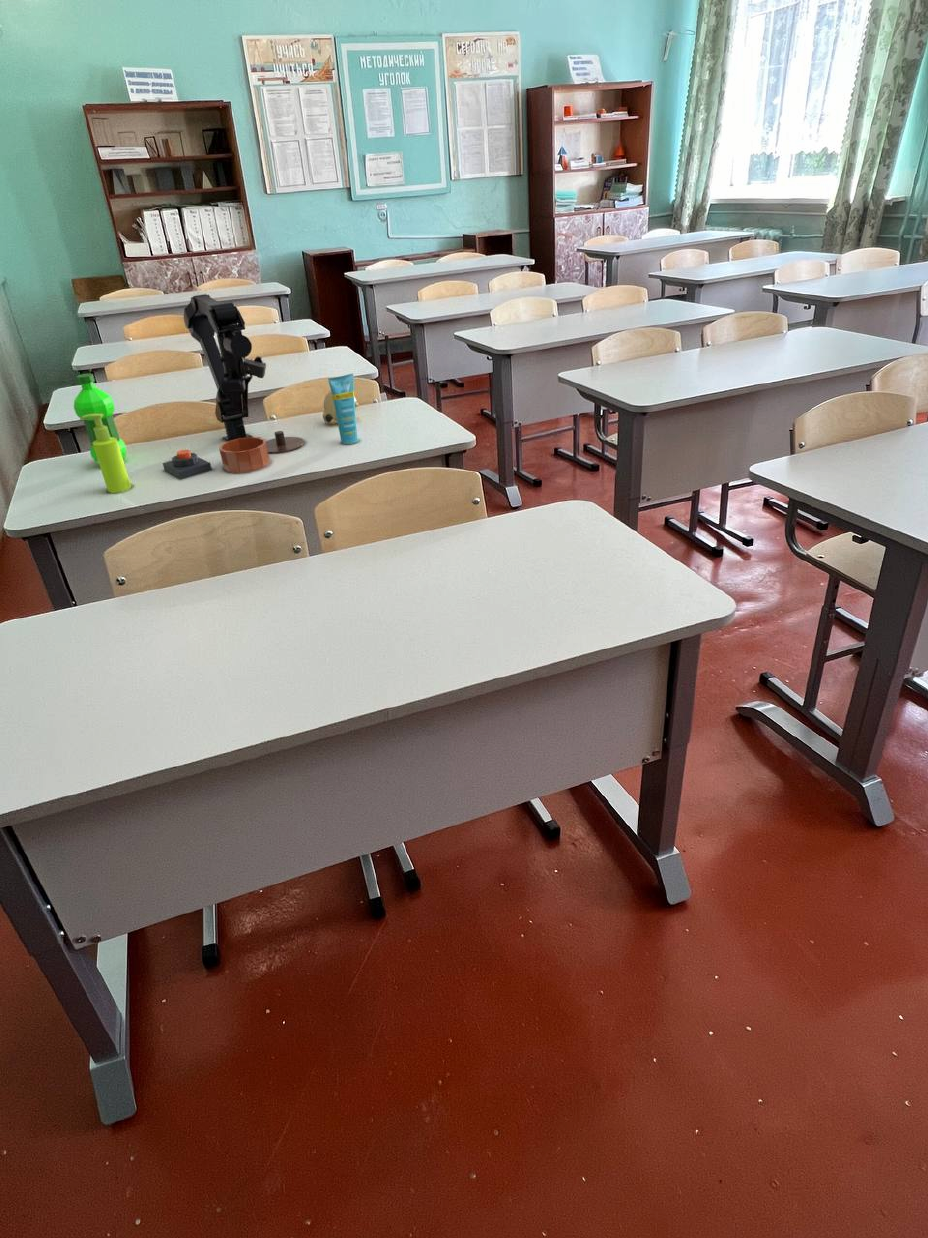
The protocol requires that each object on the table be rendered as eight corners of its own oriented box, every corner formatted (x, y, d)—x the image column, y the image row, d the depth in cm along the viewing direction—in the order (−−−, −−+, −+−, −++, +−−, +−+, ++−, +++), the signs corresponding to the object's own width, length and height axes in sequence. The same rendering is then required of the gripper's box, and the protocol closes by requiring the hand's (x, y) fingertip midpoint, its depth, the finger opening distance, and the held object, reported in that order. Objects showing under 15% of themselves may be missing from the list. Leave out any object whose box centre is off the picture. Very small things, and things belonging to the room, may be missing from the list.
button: (175, 458, 209) (174, 452, 208) (188, 454, 211) (186, 448, 210) (181, 461, 206) (179, 454, 205) (193, 457, 208) (192, 451, 207)
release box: (164, 470, 212) (160, 456, 209) (194, 461, 216) (191, 448, 214) (181, 479, 204) (177, 465, 202) (211, 470, 209) (208, 456, 207)
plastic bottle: (108, 471, 214) (79, 381, 201) (86, 466, 219) (56, 378, 206) (138, 459, 221) (112, 372, 208) (115, 454, 226) (88, 369, 213)
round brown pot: (216, 466, 212) (211, 445, 208) (256, 454, 218) (251, 434, 215) (237, 476, 203) (232, 455, 200) (278, 463, 210) (273, 442, 207)
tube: (342, 446, 219) (331, 379, 209) (335, 442, 223) (324, 376, 213) (364, 440, 223) (356, 374, 213) (357, 437, 226) (348, 371, 216)
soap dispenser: (108, 486, 204) (84, 412, 193) (134, 483, 204) (111, 409, 193) (101, 494, 199) (75, 419, 188) (127, 491, 199) (104, 416, 188)
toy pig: (341, 428, 246) (313, 409, 242) (362, 397, 243) (334, 378, 238) (343, 436, 238) (314, 417, 233) (365, 405, 235) (336, 384, 230)
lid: (250, 447, 224) (247, 433, 222) (289, 435, 232) (286, 422, 230) (272, 456, 216) (270, 442, 214) (312, 444, 223) (310, 430, 221)
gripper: (255, 356, 201) (267, 415, 209) (265, 342, 217) (275, 397, 225) (213, 360, 201) (226, 418, 209) (226, 345, 217) (238, 400, 225)
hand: (243, 408), depth 217 cm, fingers open, 9 cm apart
